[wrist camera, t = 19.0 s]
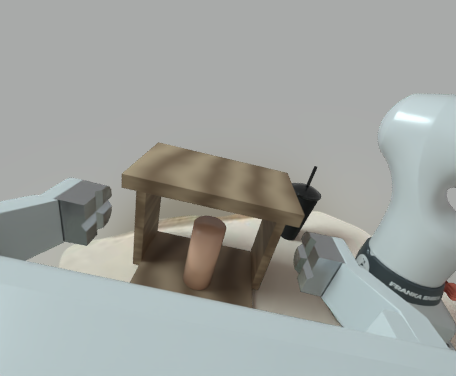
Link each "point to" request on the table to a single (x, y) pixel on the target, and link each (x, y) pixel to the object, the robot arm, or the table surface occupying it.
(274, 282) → the table surface
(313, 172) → the drinking cup
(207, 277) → the peach tapered cylinder
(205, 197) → the under counter shelf
